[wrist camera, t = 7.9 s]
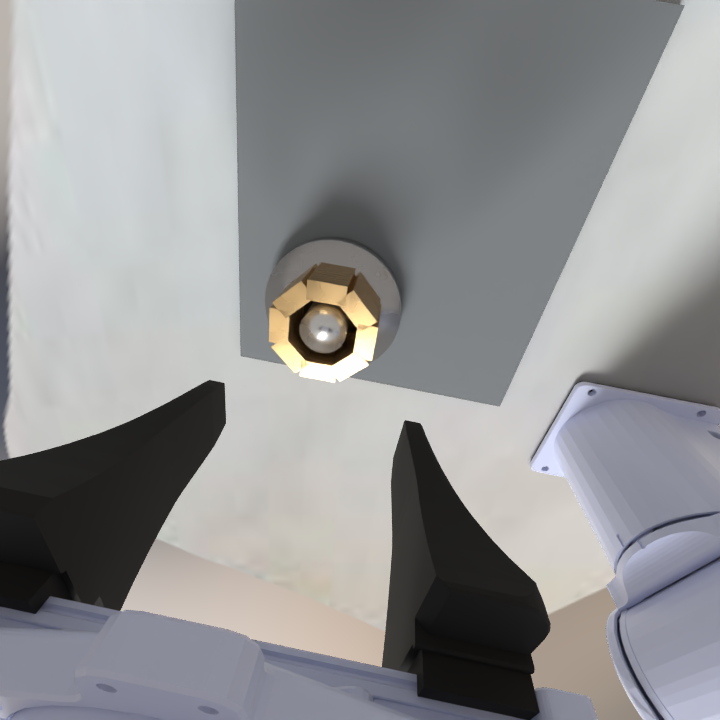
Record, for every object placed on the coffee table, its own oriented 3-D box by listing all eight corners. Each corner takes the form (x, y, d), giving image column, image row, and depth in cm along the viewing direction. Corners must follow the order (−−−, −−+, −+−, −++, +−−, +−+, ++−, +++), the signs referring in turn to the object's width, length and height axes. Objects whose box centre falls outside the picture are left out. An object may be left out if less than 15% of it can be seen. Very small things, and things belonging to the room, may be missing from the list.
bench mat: (677, 9, 14) (684, 5, 14) (498, 402, 24) (499, 406, 24) (237, -70, 14) (233, -76, 14) (242, 353, 24) (240, 355, 24)
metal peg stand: (415, 251, 19) (418, 270, 16) (386, 371, 23) (384, 408, 20) (273, 224, 19) (245, 238, 16) (269, 348, 23) (246, 381, 20)
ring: (387, 274, 19) (384, 293, 16) (371, 359, 22) (366, 388, 19) (289, 256, 19) (270, 272, 16) (285, 343, 22) (268, 370, 19)
